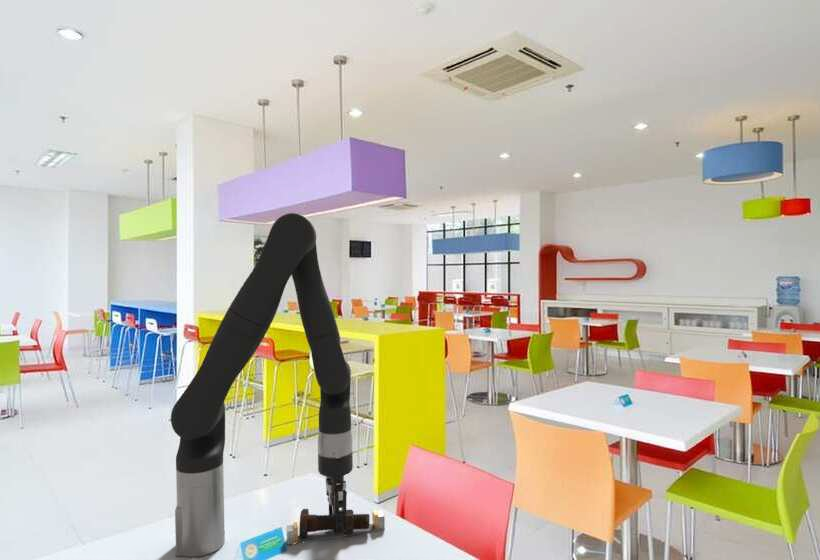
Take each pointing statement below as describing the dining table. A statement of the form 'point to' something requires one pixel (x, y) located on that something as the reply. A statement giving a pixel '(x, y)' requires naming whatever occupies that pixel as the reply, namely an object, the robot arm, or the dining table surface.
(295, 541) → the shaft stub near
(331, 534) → the pad
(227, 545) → the dining table surface
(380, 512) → the small wooden block
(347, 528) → the bolt
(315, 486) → the dining table surface
